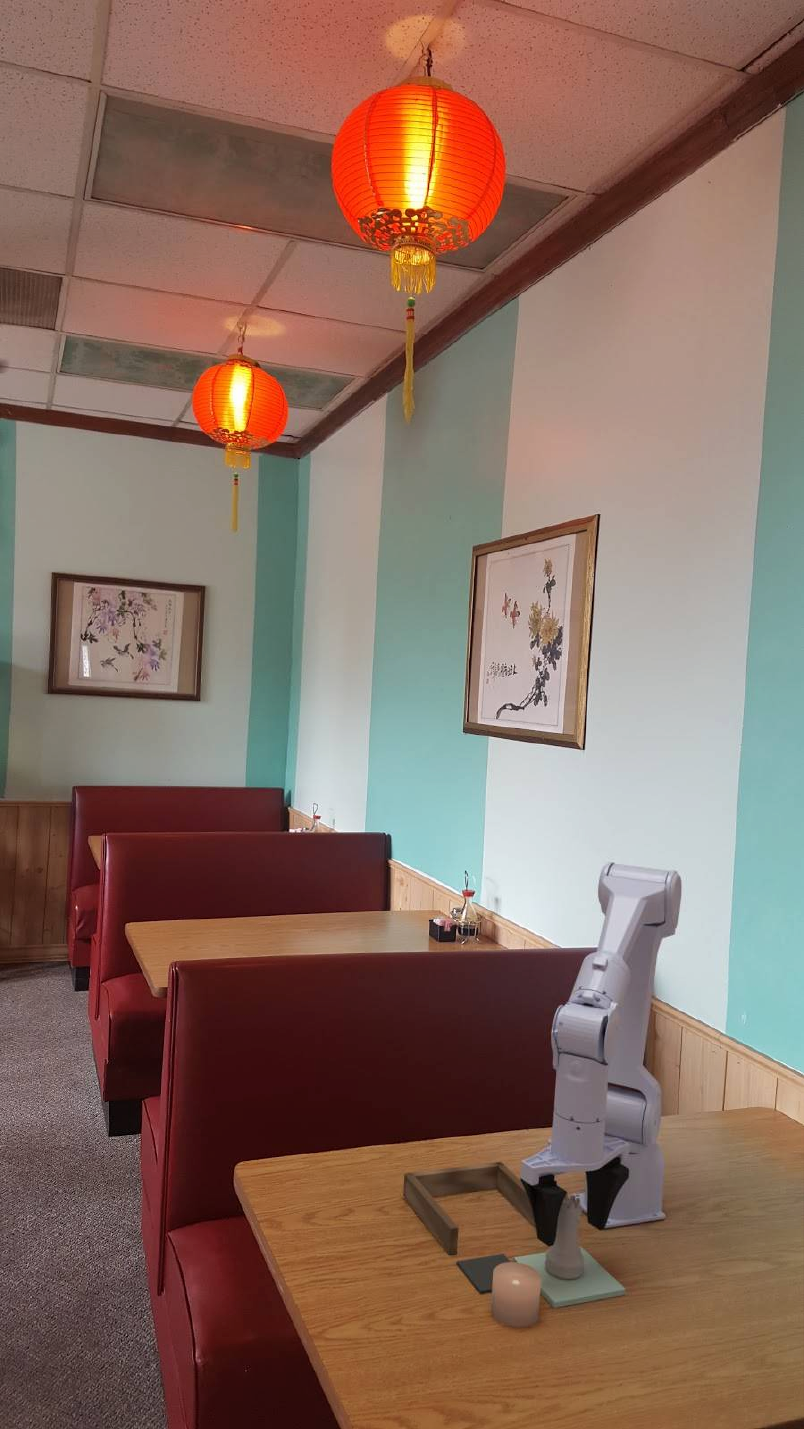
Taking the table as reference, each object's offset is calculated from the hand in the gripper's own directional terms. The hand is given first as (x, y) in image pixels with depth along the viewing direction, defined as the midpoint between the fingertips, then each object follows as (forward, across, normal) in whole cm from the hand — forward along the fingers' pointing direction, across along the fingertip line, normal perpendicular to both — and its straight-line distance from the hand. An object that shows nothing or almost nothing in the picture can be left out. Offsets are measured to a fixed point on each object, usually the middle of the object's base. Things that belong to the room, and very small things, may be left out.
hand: (571, 1233), depth 112 cm
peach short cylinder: (+5, +10, +2) cm, 11 cm away
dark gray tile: (+5, +7, -4) cm, 10 cm away
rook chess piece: (+5, 0, -1) cm, 5 cm away
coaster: (+5, 0, 0) cm, 5 cm away
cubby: (+5, +1, -16) cm, 16 cm away
